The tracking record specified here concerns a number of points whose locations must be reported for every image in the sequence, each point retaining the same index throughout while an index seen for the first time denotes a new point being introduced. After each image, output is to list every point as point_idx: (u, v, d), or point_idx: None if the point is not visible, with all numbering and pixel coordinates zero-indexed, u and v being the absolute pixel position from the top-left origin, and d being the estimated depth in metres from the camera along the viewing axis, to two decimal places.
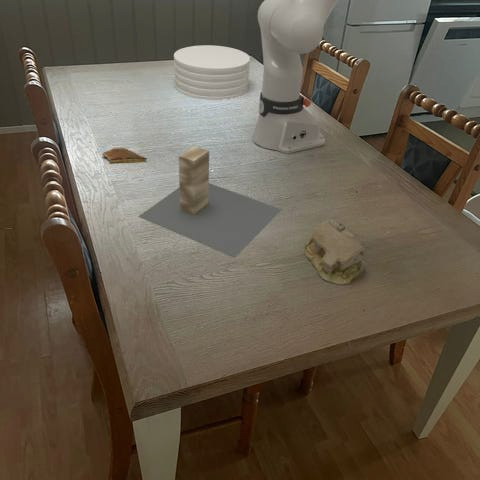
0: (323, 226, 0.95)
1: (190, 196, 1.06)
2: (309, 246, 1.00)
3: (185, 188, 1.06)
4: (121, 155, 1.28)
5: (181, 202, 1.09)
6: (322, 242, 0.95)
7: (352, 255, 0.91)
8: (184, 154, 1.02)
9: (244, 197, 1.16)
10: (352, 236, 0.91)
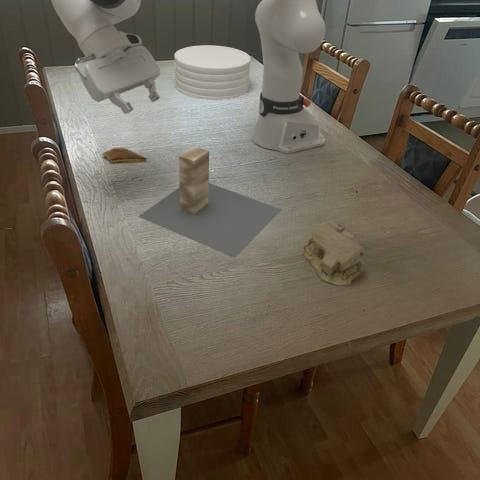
0: (322, 227, 0.95)
1: (190, 196, 1.06)
2: (308, 247, 0.99)
3: (185, 188, 1.06)
4: (121, 155, 1.28)
5: (181, 202, 1.09)
6: (322, 243, 0.94)
7: (352, 256, 0.91)
8: (184, 154, 1.02)
9: (244, 197, 1.16)
10: (352, 237, 0.91)
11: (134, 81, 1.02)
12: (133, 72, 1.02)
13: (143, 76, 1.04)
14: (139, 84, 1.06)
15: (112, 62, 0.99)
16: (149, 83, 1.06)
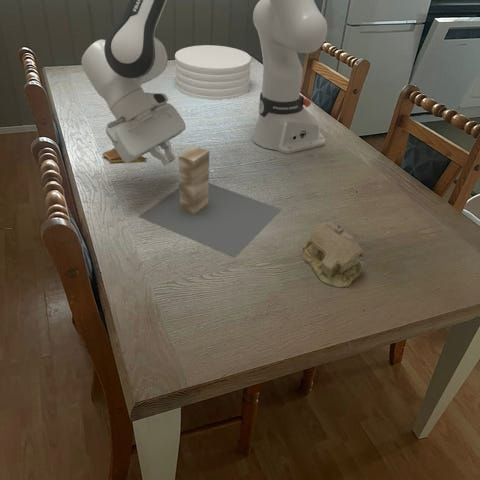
0: (321, 229, 0.95)
1: (190, 196, 1.06)
2: (307, 249, 0.99)
3: (185, 188, 1.06)
4: None
5: (181, 202, 1.09)
6: (321, 245, 0.94)
7: (352, 257, 0.90)
8: (184, 154, 1.02)
9: (244, 197, 1.16)
10: (351, 238, 0.91)
11: (161, 140, 1.06)
12: (160, 131, 1.06)
13: (169, 134, 1.08)
14: None
15: (141, 123, 1.03)
16: (165, 145, 1.08)
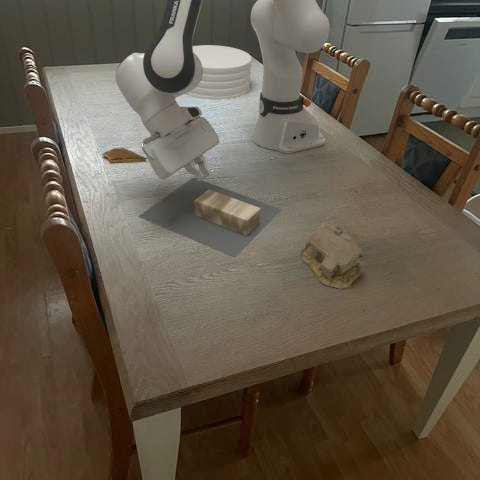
0: (320, 230, 0.94)
1: (210, 218, 1.06)
2: (306, 251, 0.98)
3: (217, 215, 1.05)
4: (122, 155, 1.28)
5: (201, 204, 1.06)
6: (320, 246, 0.93)
7: (352, 258, 0.90)
8: (250, 220, 1.02)
9: (244, 197, 1.16)
10: (351, 239, 0.90)
11: (196, 155, 1.03)
12: (195, 146, 1.03)
13: (204, 148, 1.05)
14: None
15: (176, 139, 1.00)
16: (199, 160, 1.05)
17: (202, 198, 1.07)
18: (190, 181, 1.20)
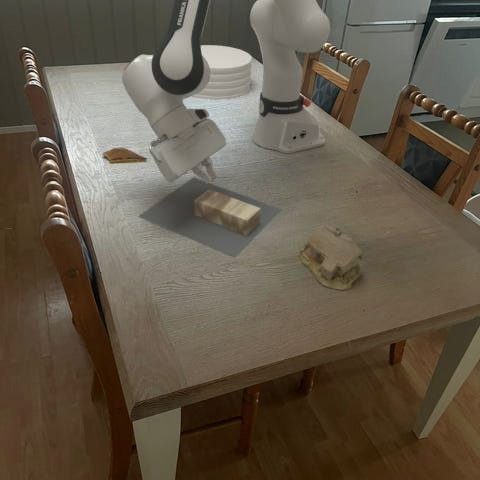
0: (319, 231, 0.94)
1: (210, 218, 1.06)
2: (305, 252, 0.98)
3: (217, 215, 1.05)
4: (122, 155, 1.28)
5: (201, 204, 1.06)
6: (319, 248, 0.93)
7: (352, 259, 0.90)
8: (250, 220, 1.02)
9: (244, 197, 1.16)
10: (350, 240, 0.90)
11: (204, 157, 1.02)
12: (202, 148, 1.03)
13: (211, 150, 1.04)
14: None
15: (183, 141, 1.00)
16: (207, 162, 1.04)
17: (202, 198, 1.07)
18: (190, 181, 1.20)
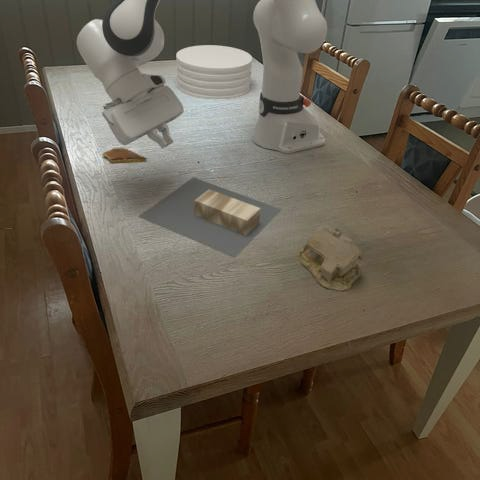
0: (318, 232, 0.94)
1: (210, 218, 1.06)
2: (304, 253, 0.98)
3: (217, 215, 1.05)
4: (122, 155, 1.28)
5: (201, 204, 1.06)
6: (319, 249, 0.93)
7: (352, 260, 0.90)
8: (250, 220, 1.02)
9: (244, 197, 1.16)
10: (350, 241, 0.90)
11: (159, 122, 1.04)
12: (157, 113, 1.04)
13: (167, 116, 1.06)
14: None
15: (137, 105, 1.01)
16: (162, 127, 1.05)
17: (202, 198, 1.07)
18: (190, 181, 1.20)
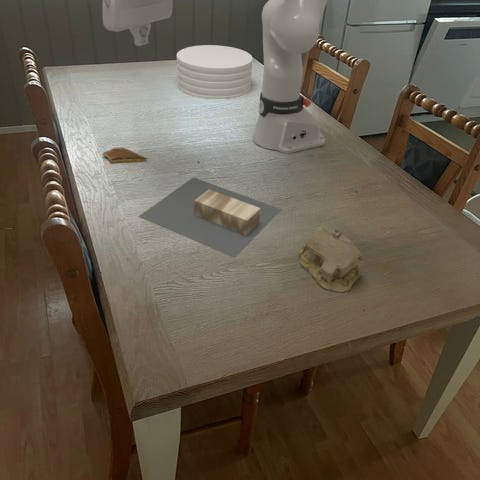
0: (318, 234, 0.93)
1: (210, 218, 1.06)
2: (303, 255, 0.97)
3: (217, 215, 1.05)
4: (122, 155, 1.28)
5: (201, 204, 1.06)
6: (319, 250, 0.92)
7: (352, 261, 0.89)
8: (250, 220, 1.02)
9: (244, 197, 1.16)
10: (350, 242, 0.90)
11: (146, 22, 1.06)
12: (149, 12, 1.05)
13: (155, 18, 1.08)
14: None
15: None
16: (145, 26, 1.08)
17: (202, 198, 1.07)
18: (190, 181, 1.20)
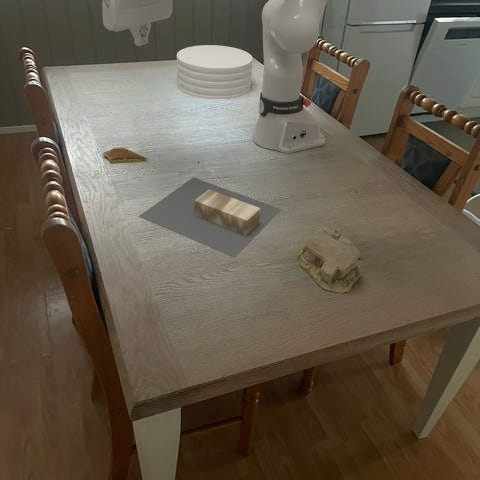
0: (317, 235, 0.93)
1: (210, 218, 1.06)
2: (303, 256, 0.97)
3: (217, 215, 1.05)
4: (122, 155, 1.28)
5: (201, 204, 1.06)
6: (318, 251, 0.92)
7: (352, 262, 0.89)
8: (250, 220, 1.02)
9: (244, 197, 1.16)
10: (350, 243, 0.89)
11: (146, 22, 1.06)
12: (149, 12, 1.05)
13: (155, 18, 1.08)
14: None
15: None
16: (145, 26, 1.08)
17: (202, 198, 1.07)
18: (190, 181, 1.20)
